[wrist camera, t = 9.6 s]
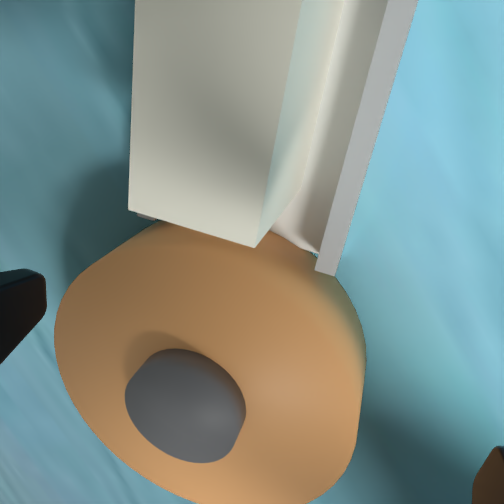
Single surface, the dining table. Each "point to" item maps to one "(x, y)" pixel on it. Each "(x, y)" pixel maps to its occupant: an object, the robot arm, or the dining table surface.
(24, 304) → the robot arm
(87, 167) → the dining table surface
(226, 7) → the cream rectangular block
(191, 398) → the orange and grey base
